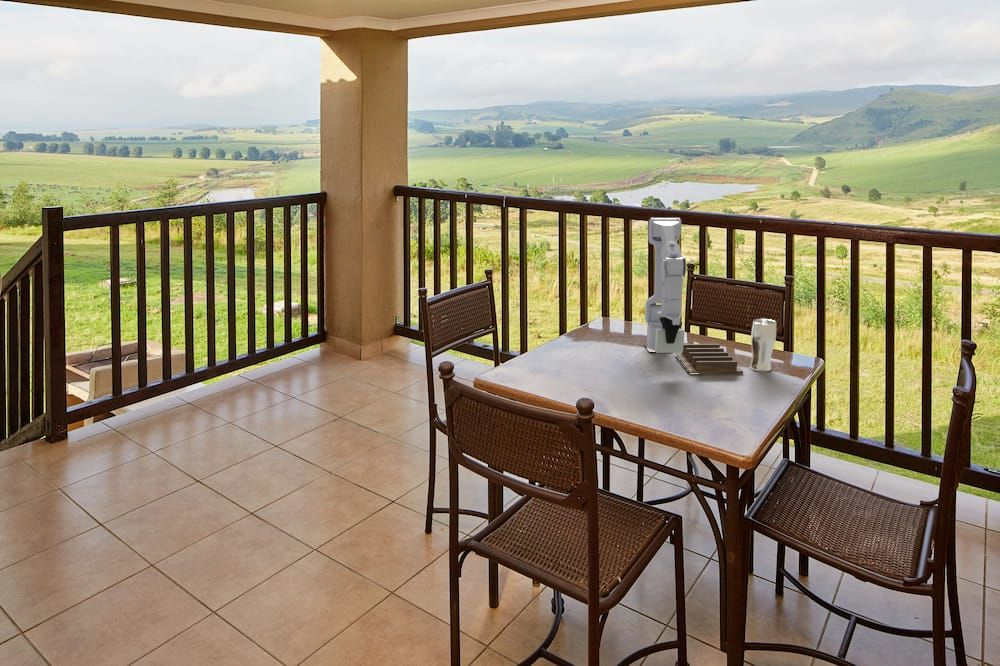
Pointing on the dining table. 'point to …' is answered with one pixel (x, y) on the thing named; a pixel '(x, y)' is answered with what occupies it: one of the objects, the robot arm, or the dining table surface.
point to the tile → (663, 347)
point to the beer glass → (762, 344)
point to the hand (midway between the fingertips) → (669, 341)
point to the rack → (708, 359)
